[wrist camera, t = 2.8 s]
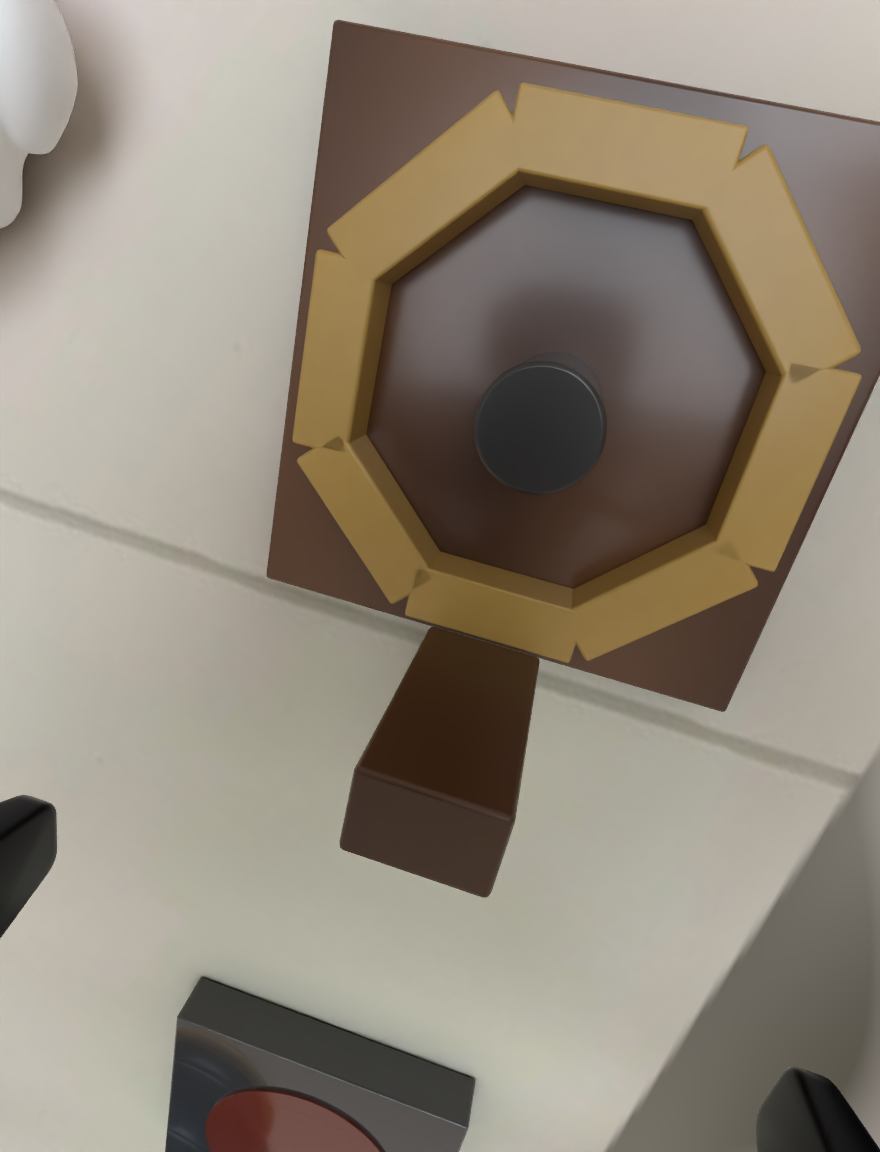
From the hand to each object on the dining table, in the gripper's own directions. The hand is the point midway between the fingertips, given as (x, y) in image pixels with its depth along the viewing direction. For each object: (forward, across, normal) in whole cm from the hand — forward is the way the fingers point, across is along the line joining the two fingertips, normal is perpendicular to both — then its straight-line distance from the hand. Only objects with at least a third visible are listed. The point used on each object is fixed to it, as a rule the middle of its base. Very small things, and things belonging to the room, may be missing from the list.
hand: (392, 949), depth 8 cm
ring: (+8, 0, -6) cm, 10 cm away
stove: (+9, +2, +21) cm, 23 cm away
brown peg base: (+9, 0, -6) cm, 11 cm away
